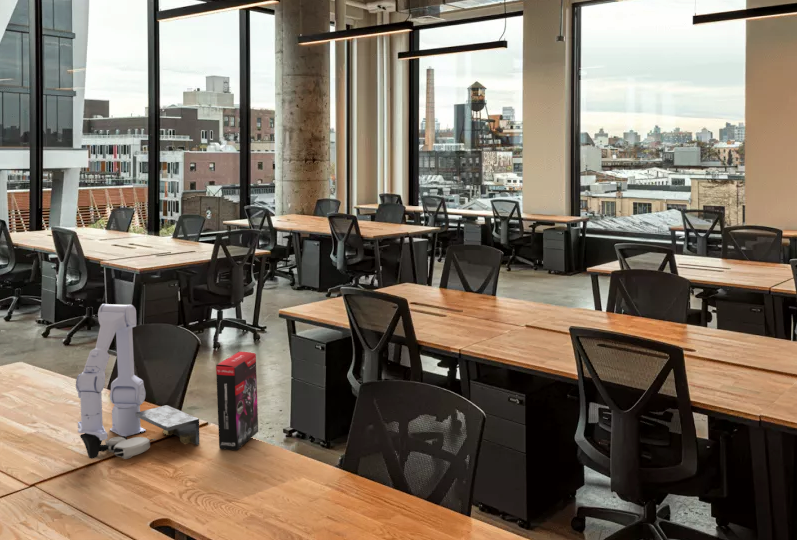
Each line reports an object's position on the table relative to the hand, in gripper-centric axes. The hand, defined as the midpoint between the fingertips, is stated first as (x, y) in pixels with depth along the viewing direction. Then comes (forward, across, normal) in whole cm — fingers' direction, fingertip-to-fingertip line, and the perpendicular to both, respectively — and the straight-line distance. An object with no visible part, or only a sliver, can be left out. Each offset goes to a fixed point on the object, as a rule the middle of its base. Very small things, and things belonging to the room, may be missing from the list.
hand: (93, 457), depth 220 cm
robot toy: (+2, 0, +10) cm, 10 cm away
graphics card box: (+2, +16, +40) cm, 43 cm away
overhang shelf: (+1, 0, +24) cm, 24 cm away
